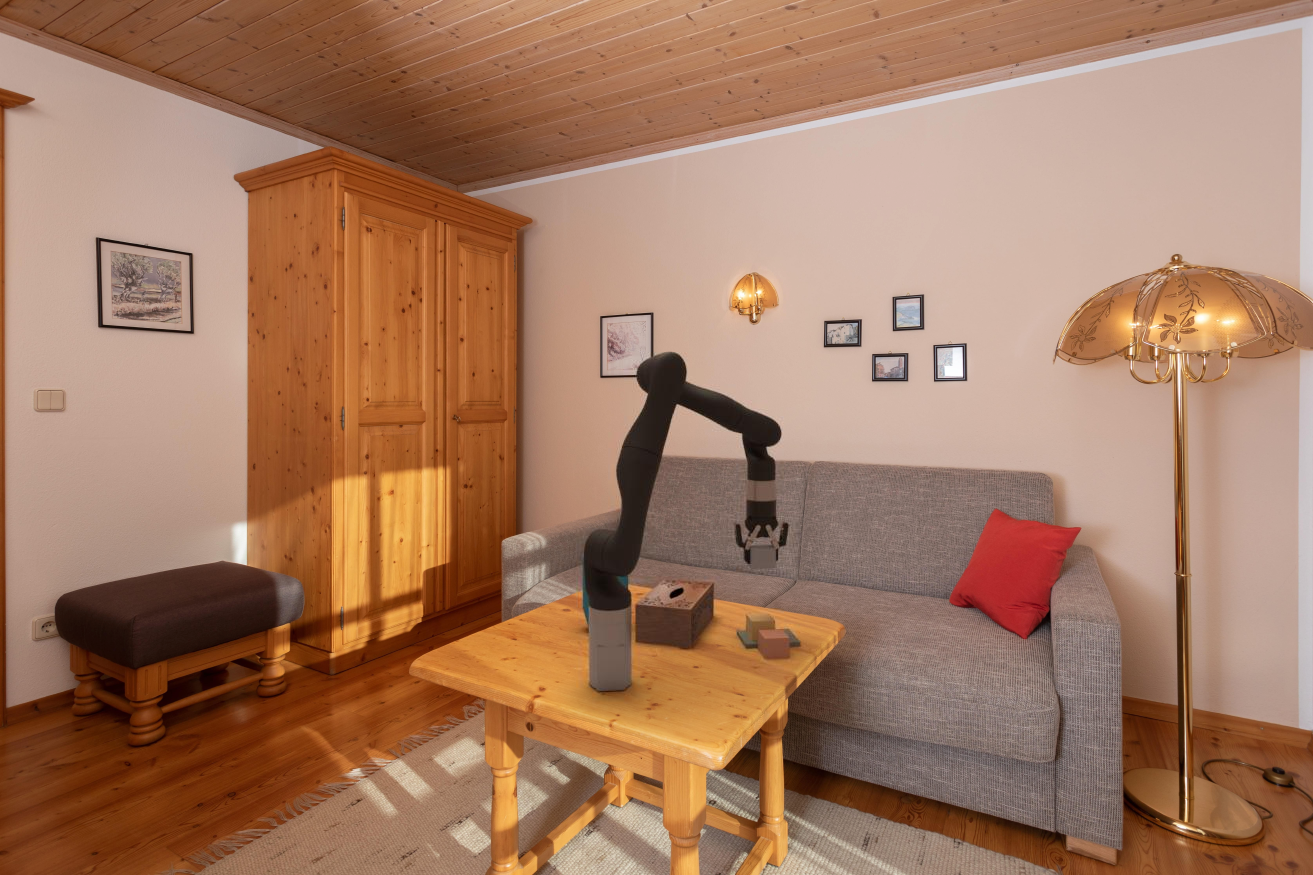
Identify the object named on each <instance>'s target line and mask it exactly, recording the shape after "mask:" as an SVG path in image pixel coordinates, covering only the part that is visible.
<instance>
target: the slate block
mask: <svg viewBox="0 0 1313 875" xmlns="http://www.w3.org/2000/svg"><path fill="white" fill-rule="evenodd" d="M776 565H777V561H776V548H774V547H773V546H772V544H771V542H767V543H752V545H751V547H750V564H747V566H749V568H751V569H752V570H764V569H765V570H766V569H776V568H777V567H776Z"/></svg>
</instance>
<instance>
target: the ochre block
mask: <svg viewBox="0 0 1313 875" xmlns="http://www.w3.org/2000/svg"><path fill="white" fill-rule="evenodd" d="M774 629H776V619H774V617H773V616H772V615H771V614H770V613H769V612H764V613H762V612H761V613H746V614H745V630H746V634H747V635H748V637H749V638H750V639H751V641H758V630H774Z"/></svg>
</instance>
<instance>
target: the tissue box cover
mask: <svg viewBox="0 0 1313 875" xmlns="http://www.w3.org/2000/svg"><path fill="white" fill-rule="evenodd" d="M714 583H715V582H711V581H710V582H709V581H702V580H701V581H699V580H689V579H688V580H687V579H677V578H676V579H675V578H664V579H663V580H661V581H660V582H659V583H658V584H657V585H656V586H654V587H653V588H652V589H651V590H650V591H649V592H648V593H647V594H645V595H644V596H643V597H642V598H641V599H640V600H638V601H637V602H636V603H635V604H634V605H635V607H634V608H635V611H634V612H635V613H634V615H635V617H634V618H635V620H634V621H635V623H634V625H635V628H634V629H635V633H634V634H635V638H634V639H635V640H634V641H635V643H639V644H648V645H649V644H650V645H658V646H664V647H665V646H666V647H675V648H676V647H677V648H685V649H691V648H692V647H693V646H694V644H695V643H696V641H697V640H698V639H699V637H700V636H701V635H702V634H703V632H704V631H705V629H706V628H707V626H708V625H709V623H710V622H711V621H712V619H713V618H714V612H715V611H714V607H715V606H714V605H715V604H714V602H715V601H714V600H715V598H714V597H715V593H714V592H715V587H714V586H715V585H714Z"/></svg>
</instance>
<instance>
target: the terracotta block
mask: <svg viewBox="0 0 1313 875" xmlns="http://www.w3.org/2000/svg"><path fill="white" fill-rule="evenodd" d="M782 629H783V628H775V629H774V630H758V648H757V650H758V652H759V653H760V654H761V655H762V657H763V659H765V660H768V659H769V660H771V659H789V658H790V647H789V637H788V635H787V634H786V633H785V632H784V631H783V630H782Z"/></svg>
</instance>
